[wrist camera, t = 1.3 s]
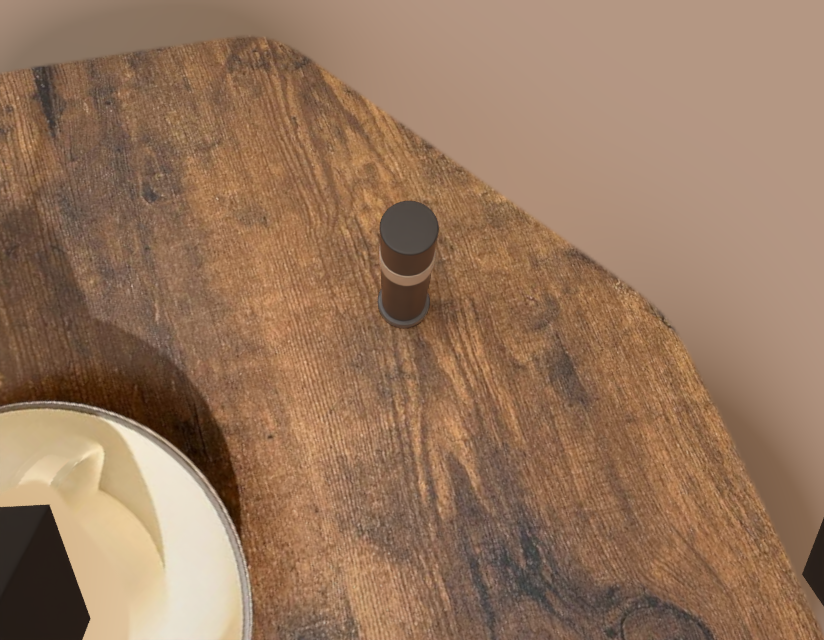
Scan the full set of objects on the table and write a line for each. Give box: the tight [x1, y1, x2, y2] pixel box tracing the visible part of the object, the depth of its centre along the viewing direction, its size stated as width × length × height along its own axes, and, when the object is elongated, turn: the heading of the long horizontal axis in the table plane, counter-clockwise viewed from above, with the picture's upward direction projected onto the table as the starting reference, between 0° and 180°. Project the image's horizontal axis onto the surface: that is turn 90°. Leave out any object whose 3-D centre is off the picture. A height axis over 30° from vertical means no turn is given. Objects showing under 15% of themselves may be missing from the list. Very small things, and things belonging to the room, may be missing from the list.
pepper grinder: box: [378, 201, 439, 328], centre depth 31 cm, size 3×3×10 cm
